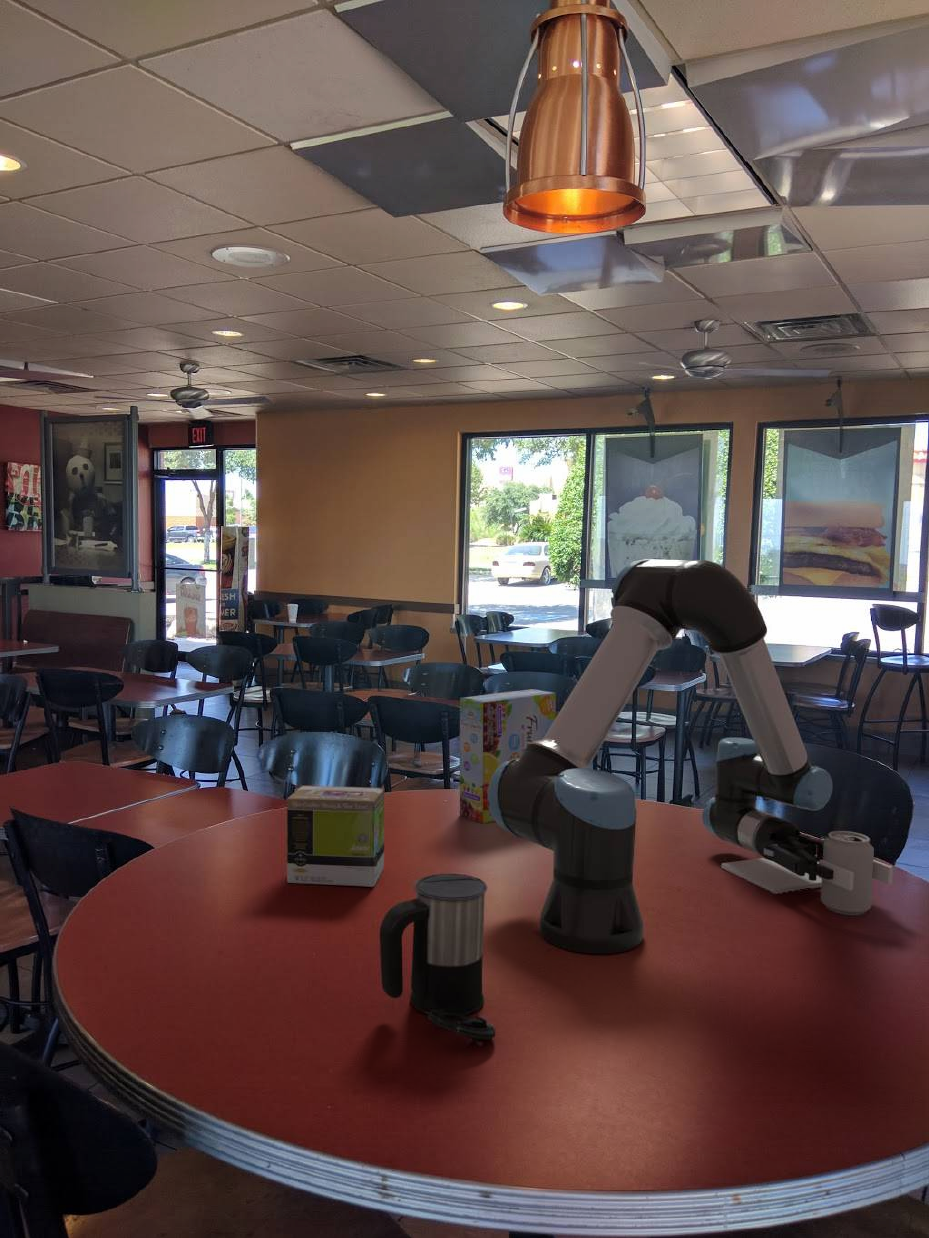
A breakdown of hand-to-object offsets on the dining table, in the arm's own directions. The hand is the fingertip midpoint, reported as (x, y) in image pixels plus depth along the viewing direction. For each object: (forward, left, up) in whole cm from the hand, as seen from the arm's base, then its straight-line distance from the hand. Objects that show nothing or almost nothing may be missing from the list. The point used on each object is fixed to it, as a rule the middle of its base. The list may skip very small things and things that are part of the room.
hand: (871, 878), depth 147 cm
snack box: (-67, +42, -7) cm, 79 cm away
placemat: (-10, +19, -6) cm, 22 cm away
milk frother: (-53, -49, -7) cm, 73 cm away
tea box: (-86, -8, -7) cm, 87 cm away
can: (-3, +4, -7) cm, 8 cm away
